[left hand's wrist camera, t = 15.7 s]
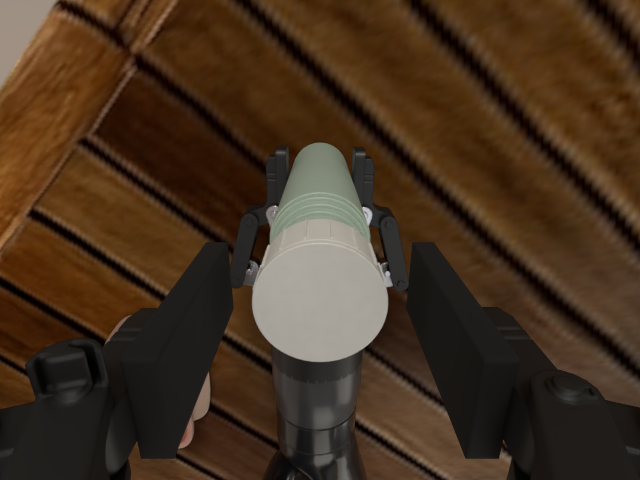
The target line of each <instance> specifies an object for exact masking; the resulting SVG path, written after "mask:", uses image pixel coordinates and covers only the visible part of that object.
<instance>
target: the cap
mask: <svg viewBox="0 0 640 480" xmlns="http://www.w3.org/2000/svg"><path fill="white" fill-rule="evenodd" d="M386 287H387V284H386V281H385V278H384V275H383V272H382V269H381V266H380V263H378V262H377V259H376V256H375V253H374V251H373V248H372V245H371V243H369V242H368V241H367V240H366V239H365V238H364V237H363V236H362V235H361V234H360V233H359V232H358V231H357V230H355V228H354V227H350V226H348V225H346V224H344V223H341V222H338V221H335V220H332V219H330V220H329V219H311V220H305V221H302V222H299V223H296V224H294V225H292V226H290V227H288V228H287V229H283V231H282V232H281V233H280V234H279V235H278V236H277V237H276V238H275V239H274V240H273V241H272V242H271V244H270V245H268V246H267V249H266V252H265V255H264V258H263V261H262V264H261V265H260V268H259V271H258V274H257V277H256V280H255V283H254V286H253V295H252V310H253V315H254V318H255V321H256V324H257V326H258V328H259V330H260V331H261V333H262V334H263V336H264V337H265V338H266V339H267V340H268V341H269V342H270V343H271V344H272V345H273V346H274V347H275V348H277V349H278V350H280V351H281V352H283V353H285V354H287V355H289V356H292V357H294V358H297V359H301V360H305V361H311V362H329V361H335V360H340V359H343V358H346V357H348V356H351V355H353V354H355V353H357V352H359V351H360V350H362V349H363V348H364V347H366V346H367V345H368V344H369V343H370V342H371V341H372V340H373V339H374V338H375V337H376V336H377V334H378V333H379V331H380V330H381V328H382V326H383V324H384V321H385V319H386V315H387V310H388V294H387V289H386Z"/></svg>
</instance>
